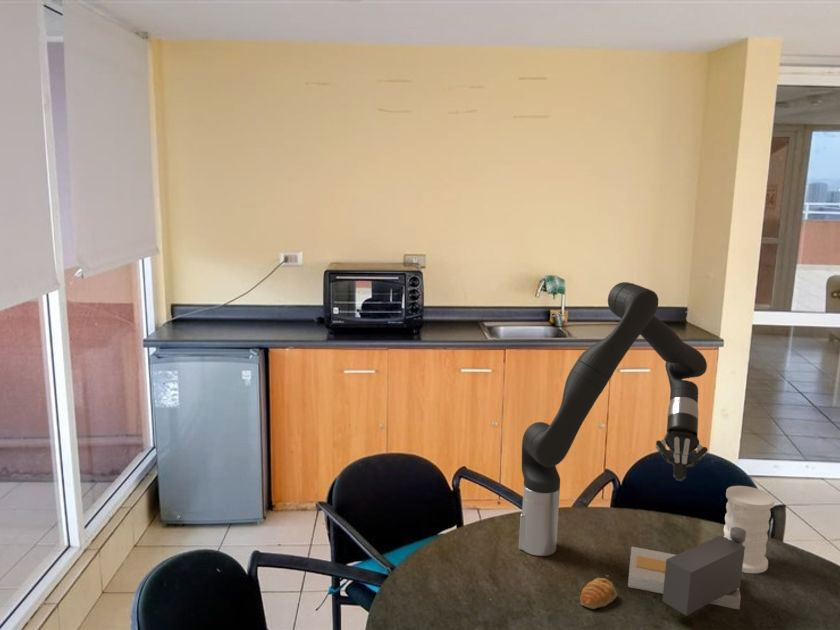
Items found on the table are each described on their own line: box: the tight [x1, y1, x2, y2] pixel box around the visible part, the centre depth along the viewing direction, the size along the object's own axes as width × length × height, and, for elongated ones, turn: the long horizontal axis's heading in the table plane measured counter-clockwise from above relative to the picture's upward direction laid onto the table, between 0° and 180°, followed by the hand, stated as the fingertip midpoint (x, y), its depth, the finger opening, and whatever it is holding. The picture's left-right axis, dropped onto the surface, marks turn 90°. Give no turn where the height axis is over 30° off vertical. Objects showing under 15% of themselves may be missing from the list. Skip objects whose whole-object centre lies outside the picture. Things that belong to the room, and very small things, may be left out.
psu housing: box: [627, 540, 743, 610], centre depth 158 cm, size 24×14×13 cm, turn 70°
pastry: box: [579, 577, 618, 610], centre depth 151 cm, size 9×7×4 cm
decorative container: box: [723, 485, 775, 574], centre depth 168 cm, size 12×12×18 cm
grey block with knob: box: [661, 527, 746, 616], centre depth 148 cm, size 24×6×12 cm, turn 123°
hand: (679, 479), depth 166 cm, fingers closed
